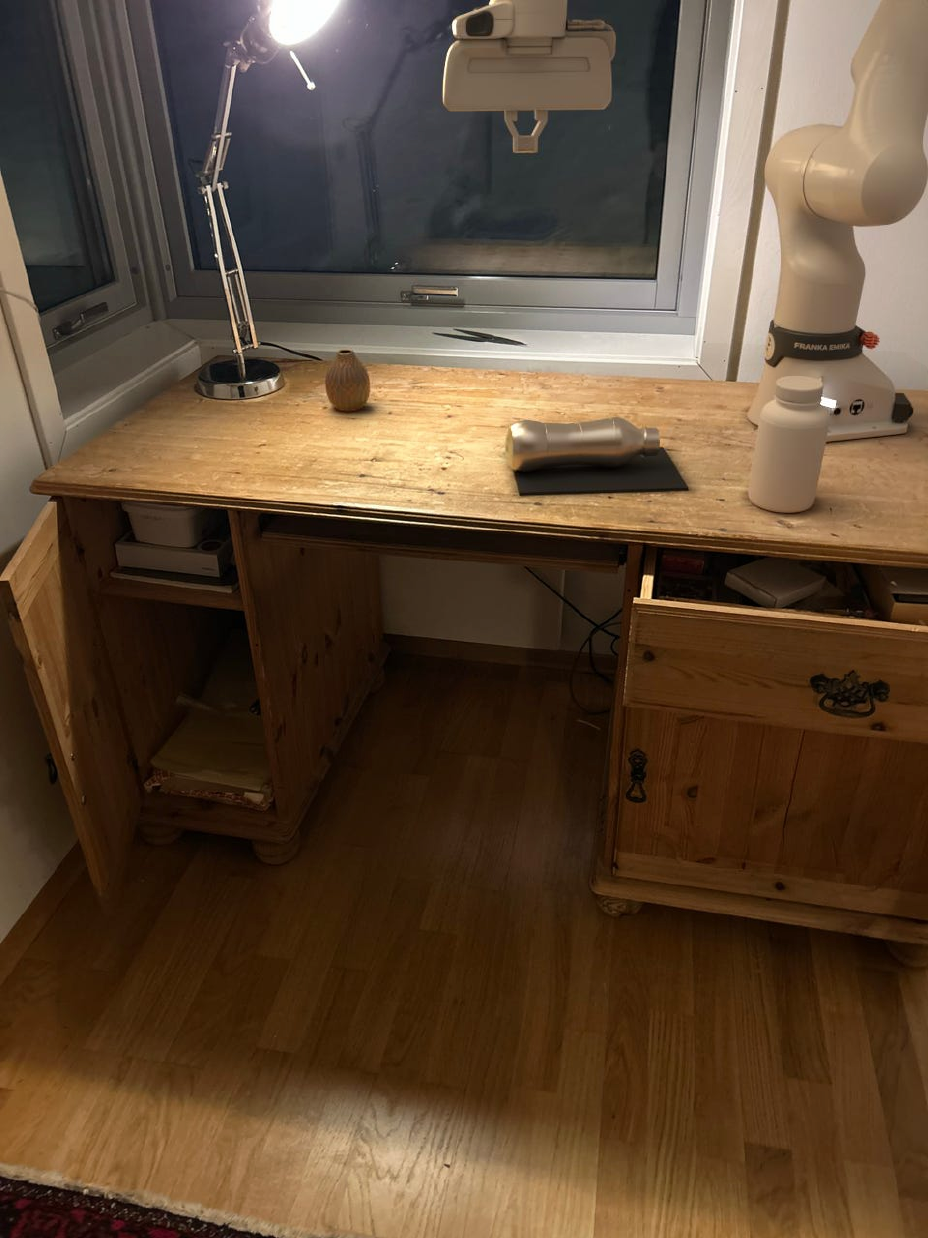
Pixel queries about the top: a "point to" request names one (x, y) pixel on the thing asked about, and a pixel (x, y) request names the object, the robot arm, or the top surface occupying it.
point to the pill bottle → (789, 446)
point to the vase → (347, 382)
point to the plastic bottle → (578, 443)
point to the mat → (604, 477)
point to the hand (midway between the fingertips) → (525, 152)
